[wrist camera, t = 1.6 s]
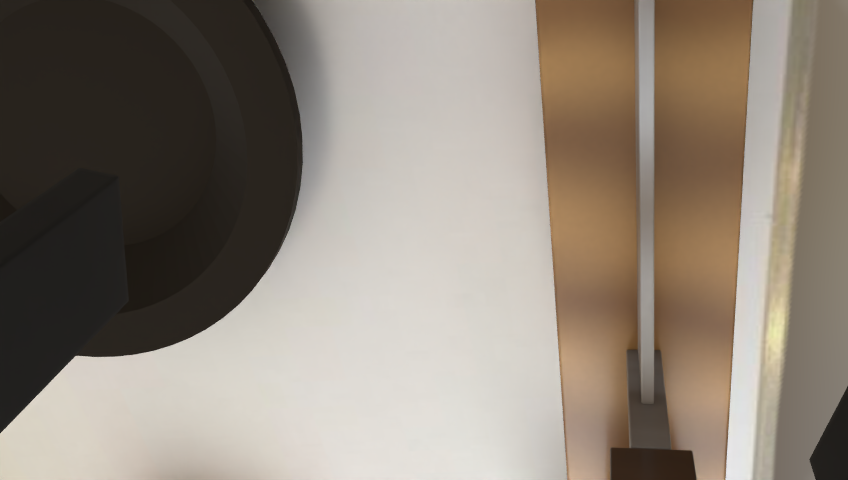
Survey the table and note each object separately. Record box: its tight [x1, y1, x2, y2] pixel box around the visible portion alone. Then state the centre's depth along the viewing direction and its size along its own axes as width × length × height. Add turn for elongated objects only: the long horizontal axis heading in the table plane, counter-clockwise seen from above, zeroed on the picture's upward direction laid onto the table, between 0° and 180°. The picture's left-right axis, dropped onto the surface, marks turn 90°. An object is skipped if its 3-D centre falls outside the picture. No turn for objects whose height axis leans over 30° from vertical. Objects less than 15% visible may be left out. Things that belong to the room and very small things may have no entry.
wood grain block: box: [535, 0, 753, 480], centre depth 33 cm, size 24×6×14 cm, turn 8°
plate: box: [0, 0, 303, 357], centre depth 42 cm, size 28×24×6 cm
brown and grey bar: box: [610, 0, 697, 480], centre depth 24 cm, size 22×3×8 cm, turn 8°
